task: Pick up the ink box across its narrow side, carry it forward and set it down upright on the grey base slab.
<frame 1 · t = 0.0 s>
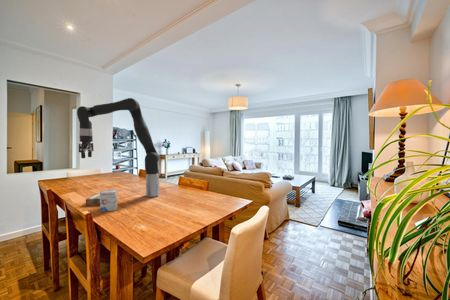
hand: (86, 157, 136), 29 cm above the table, fingers open, 8 cm apart
ink box: (108, 210, 116), on the table
base: (101, 201, 130), on the table
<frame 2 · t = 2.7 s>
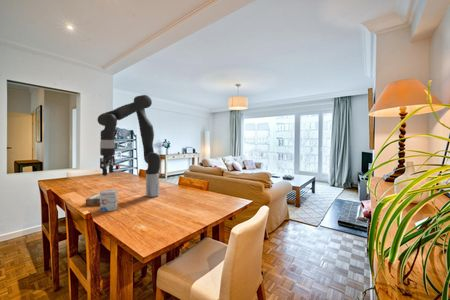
hand: (108, 174, 114), 22 cm above the table, fingers open, 8 cm apart
nothing on the table moved.
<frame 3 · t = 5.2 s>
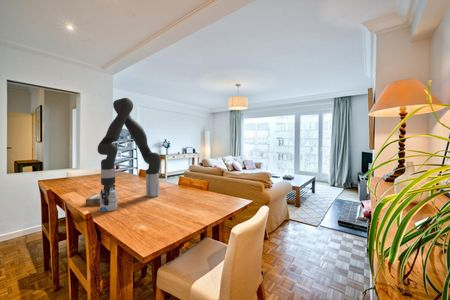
hand: (108, 203, 116), 4 cm above the table, fingers closed on ink box, 5 cm apart
ink box: (108, 210, 116), on the table, touching gripper
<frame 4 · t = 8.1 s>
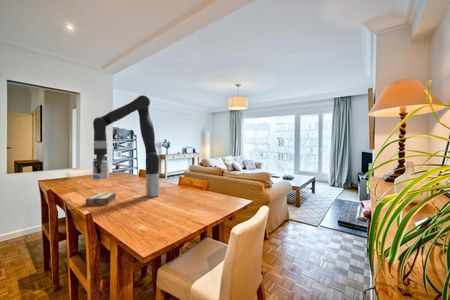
hand: (101, 172, 128), 20 cm above the table, fingers closed on ink box, 5 cm apart
ink box: (101, 178, 128), point 16 cm above the table, touching gripper
when the fingers open (9 cm above the table, at t = 11.2 s): ink box stays where it is, resting on base.
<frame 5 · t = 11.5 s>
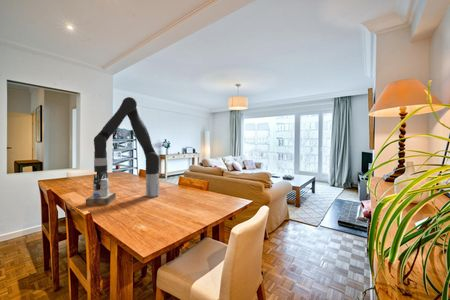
hand: (101, 188, 129), 10 cm above the table, fingers open, 8 cm apart
ink box: (101, 196, 129), point 4 cm above the table, touching base
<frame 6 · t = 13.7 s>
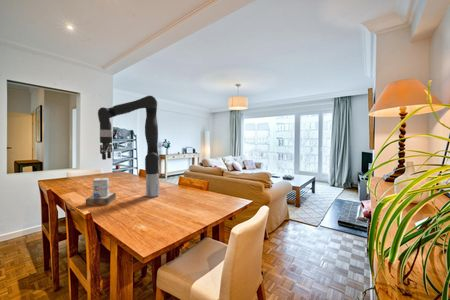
hand: (106, 158, 136), 29 cm above the table, fingers open, 8 cm apart
nothing on the table moved.
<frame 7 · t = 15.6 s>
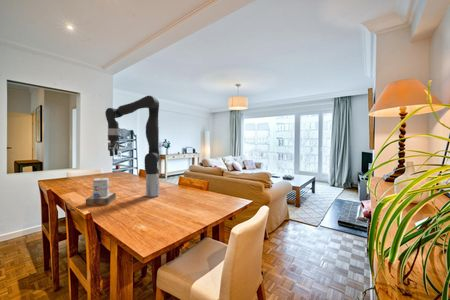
hand: (113, 155, 147), 30 cm above the table, fingers open, 8 cm apart
nothing on the table moved.
at the end: ink box inside the target area on the base (0.3 cm from its centre), point 4.0 cm above the base's base; ink box tilted 0°; the gripper is holding nothing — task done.
